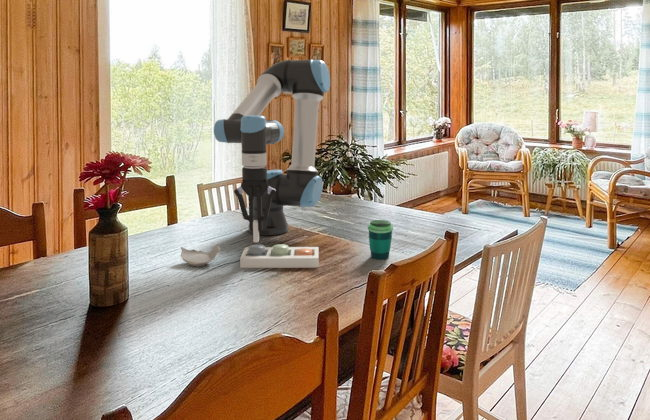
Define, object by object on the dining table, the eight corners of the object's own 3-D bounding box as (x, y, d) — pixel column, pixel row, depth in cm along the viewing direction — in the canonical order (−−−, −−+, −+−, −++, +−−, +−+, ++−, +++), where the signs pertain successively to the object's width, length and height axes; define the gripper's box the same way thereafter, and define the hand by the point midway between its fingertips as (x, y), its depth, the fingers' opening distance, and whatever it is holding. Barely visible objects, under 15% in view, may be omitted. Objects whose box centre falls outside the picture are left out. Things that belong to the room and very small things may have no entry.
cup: (394, 255, 181) (395, 220, 178) (389, 263, 173) (390, 226, 171) (370, 253, 184) (371, 218, 181) (364, 260, 176) (364, 224, 173)
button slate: (248, 258, 172) (247, 248, 172) (250, 253, 177) (249, 244, 176) (264, 258, 172) (263, 248, 172) (265, 253, 177) (265, 244, 176)
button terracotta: (296, 262, 173) (296, 253, 172) (296, 257, 178) (296, 248, 177) (312, 262, 173) (312, 253, 172) (312, 257, 178) (312, 248, 177)
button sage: (272, 258, 172) (271, 248, 172) (273, 253, 177) (273, 244, 176) (288, 257, 172) (287, 248, 172) (289, 253, 177) (288, 244, 177)
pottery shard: (176, 263, 174) (176, 248, 173) (207, 256, 181) (206, 241, 180) (194, 271, 167) (193, 255, 166) (225, 263, 174) (224, 248, 173)
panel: (240, 267, 169) (240, 258, 169) (245, 256, 181) (245, 247, 180) (318, 267, 169) (318, 258, 169) (318, 255, 181) (318, 246, 180)
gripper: (231, 168, 165) (233, 244, 170) (274, 168, 165) (276, 244, 170) (234, 165, 172) (237, 238, 177) (276, 165, 172) (277, 238, 177)
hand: (256, 241), depth 173 cm, fingers closed
